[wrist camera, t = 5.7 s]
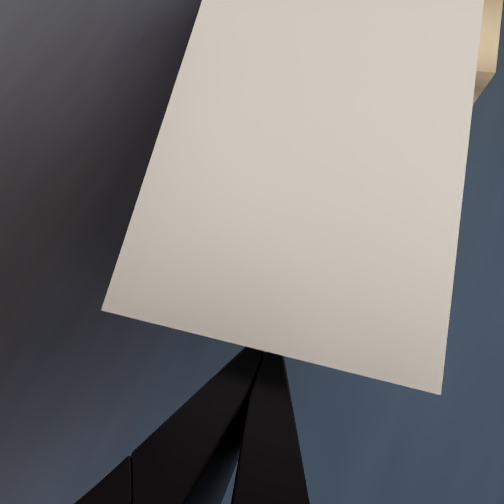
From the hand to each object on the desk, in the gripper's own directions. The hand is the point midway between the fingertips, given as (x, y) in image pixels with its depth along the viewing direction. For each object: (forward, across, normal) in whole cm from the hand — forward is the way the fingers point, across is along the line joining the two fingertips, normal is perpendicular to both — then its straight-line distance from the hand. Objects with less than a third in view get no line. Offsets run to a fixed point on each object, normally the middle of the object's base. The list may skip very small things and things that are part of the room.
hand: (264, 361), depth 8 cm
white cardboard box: (+10, 0, 0) cm, 10 cm away
